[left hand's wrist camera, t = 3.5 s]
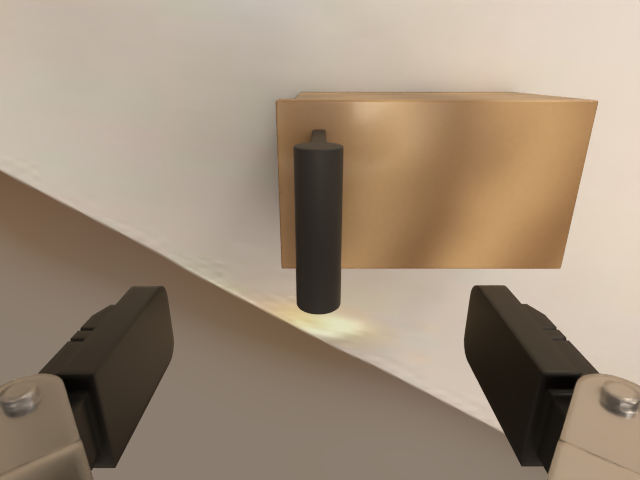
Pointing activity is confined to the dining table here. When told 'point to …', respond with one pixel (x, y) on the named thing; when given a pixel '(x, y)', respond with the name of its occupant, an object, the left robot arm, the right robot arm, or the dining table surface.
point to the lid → (425, 185)
